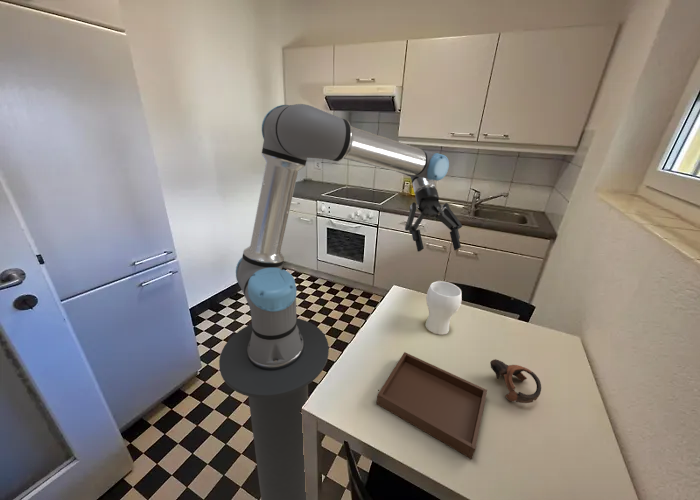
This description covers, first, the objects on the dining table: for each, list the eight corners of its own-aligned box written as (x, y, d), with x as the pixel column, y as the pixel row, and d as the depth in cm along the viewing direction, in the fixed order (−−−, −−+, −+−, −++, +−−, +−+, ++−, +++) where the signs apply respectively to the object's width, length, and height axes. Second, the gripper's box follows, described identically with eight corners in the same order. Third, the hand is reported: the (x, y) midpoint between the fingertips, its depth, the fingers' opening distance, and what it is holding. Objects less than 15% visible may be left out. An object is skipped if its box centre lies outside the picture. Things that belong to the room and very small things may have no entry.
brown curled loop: (535, 385, 74) (551, 378, 67) (520, 416, 70) (536, 412, 64) (491, 355, 79) (502, 346, 73) (475, 382, 75) (486, 375, 69)
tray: (376, 403, 66) (377, 394, 65) (403, 360, 79) (404, 351, 78) (471, 459, 56) (475, 449, 55) (484, 398, 69) (487, 389, 68)
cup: (455, 323, 96) (465, 286, 90) (450, 342, 87) (461, 302, 81) (425, 313, 100) (432, 277, 94) (417, 330, 91) (425, 291, 85)
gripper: (397, 185, 90) (409, 246, 83) (462, 187, 96) (479, 244, 90) (388, 197, 97) (399, 254, 90) (450, 198, 103) (465, 251, 96)
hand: (439, 249), depth 90 cm, fingers open, 13 cm apart
